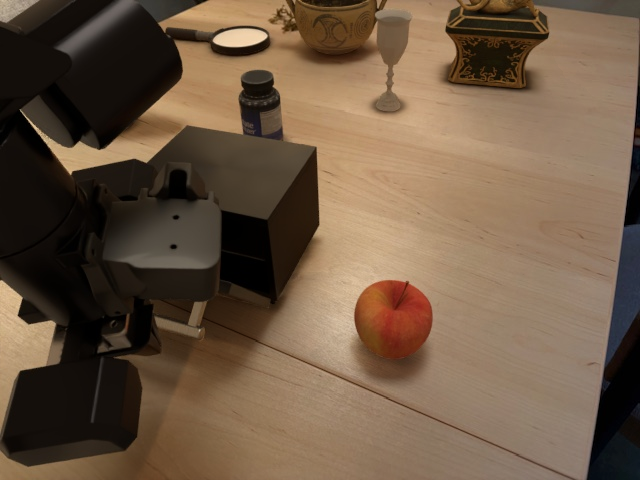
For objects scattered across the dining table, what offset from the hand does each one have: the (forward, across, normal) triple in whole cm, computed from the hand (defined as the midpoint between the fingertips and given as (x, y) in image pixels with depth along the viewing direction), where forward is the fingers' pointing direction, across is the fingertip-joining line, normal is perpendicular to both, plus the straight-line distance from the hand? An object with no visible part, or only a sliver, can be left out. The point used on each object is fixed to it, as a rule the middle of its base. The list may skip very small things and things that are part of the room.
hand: (154, 350), depth 37 cm
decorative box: (+32, +63, -43) cm, 83 cm away
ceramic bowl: (+31, +80, -19) cm, 88 cm away
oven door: (+14, +12, +2) cm, 18 cm away
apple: (+17, +5, -17) cm, 24 cm away
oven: (+17, +20, -1) cm, 26 cm away
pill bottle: (+22, +45, -4) cm, 50 cm away
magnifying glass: (+28, +88, +6) cm, 93 cm away
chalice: (+27, +54, -25) cm, 66 cm away
